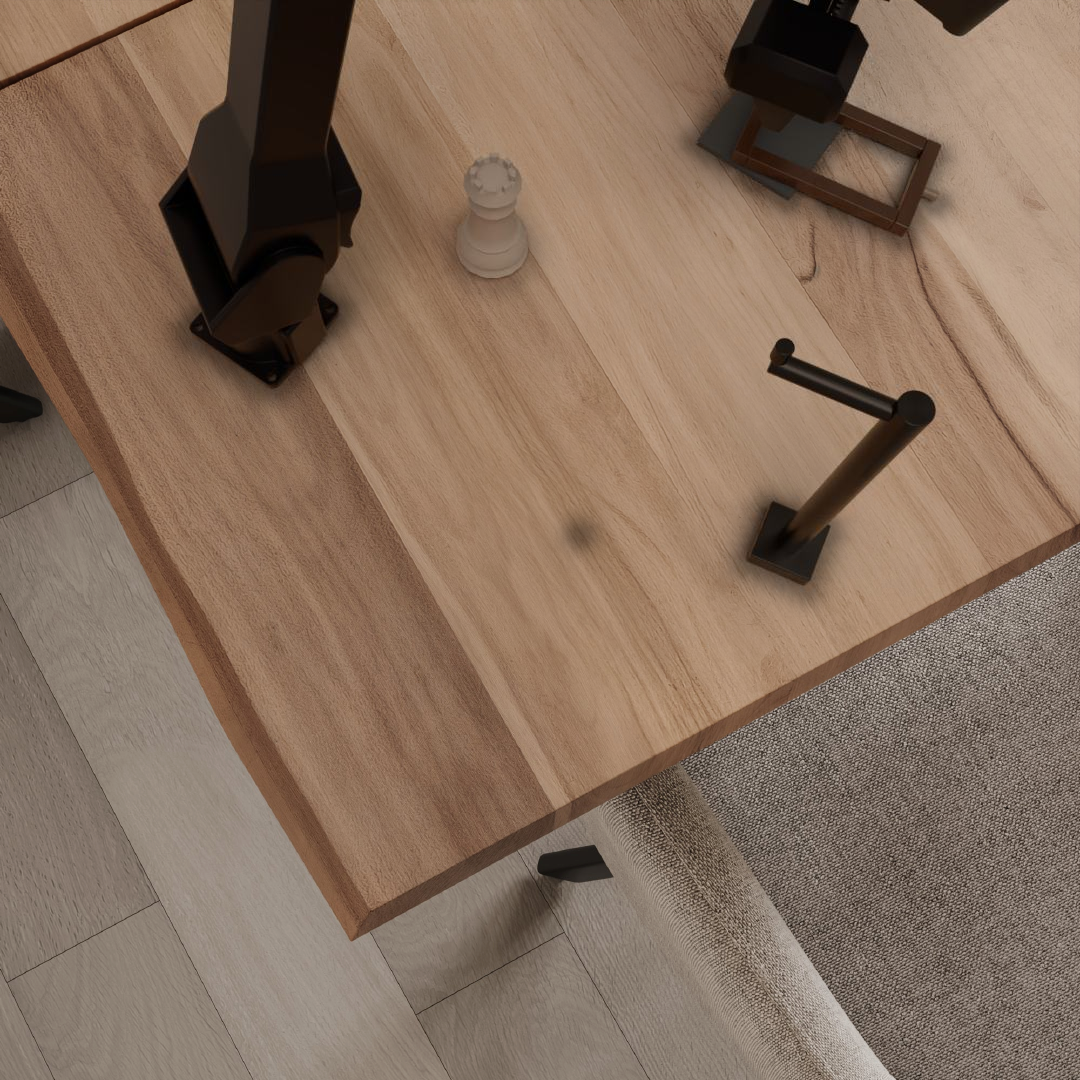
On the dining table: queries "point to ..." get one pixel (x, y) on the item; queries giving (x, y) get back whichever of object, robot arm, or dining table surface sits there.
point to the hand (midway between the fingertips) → (798, 68)
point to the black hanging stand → (800, 535)
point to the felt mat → (768, 140)
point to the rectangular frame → (837, 192)
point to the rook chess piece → (492, 219)
